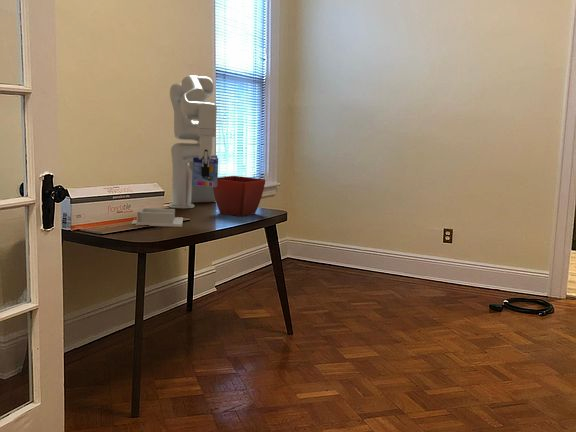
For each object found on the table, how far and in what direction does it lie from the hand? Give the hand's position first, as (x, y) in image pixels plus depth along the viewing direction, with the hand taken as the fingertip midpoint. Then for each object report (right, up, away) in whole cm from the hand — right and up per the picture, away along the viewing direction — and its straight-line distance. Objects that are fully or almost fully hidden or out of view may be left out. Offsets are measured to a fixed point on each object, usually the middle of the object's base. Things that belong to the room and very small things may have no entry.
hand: (205, 175), depth 246 cm
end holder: (-19, -20, -2) cm, 28 cm away
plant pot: (+11, -16, +32) cm, 37 cm away
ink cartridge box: (0, -5, +1) cm, 5 cm away
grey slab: (-11, -10, +63) cm, 65 cm away
